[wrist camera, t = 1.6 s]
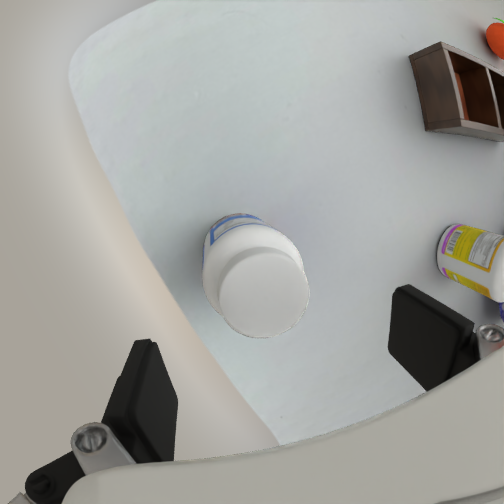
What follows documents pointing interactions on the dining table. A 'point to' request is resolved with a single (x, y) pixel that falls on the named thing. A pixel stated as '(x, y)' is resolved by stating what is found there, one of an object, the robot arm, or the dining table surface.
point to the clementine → (496, 38)
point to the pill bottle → (253, 276)
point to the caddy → (459, 92)
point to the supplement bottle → (473, 259)
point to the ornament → (501, 310)
